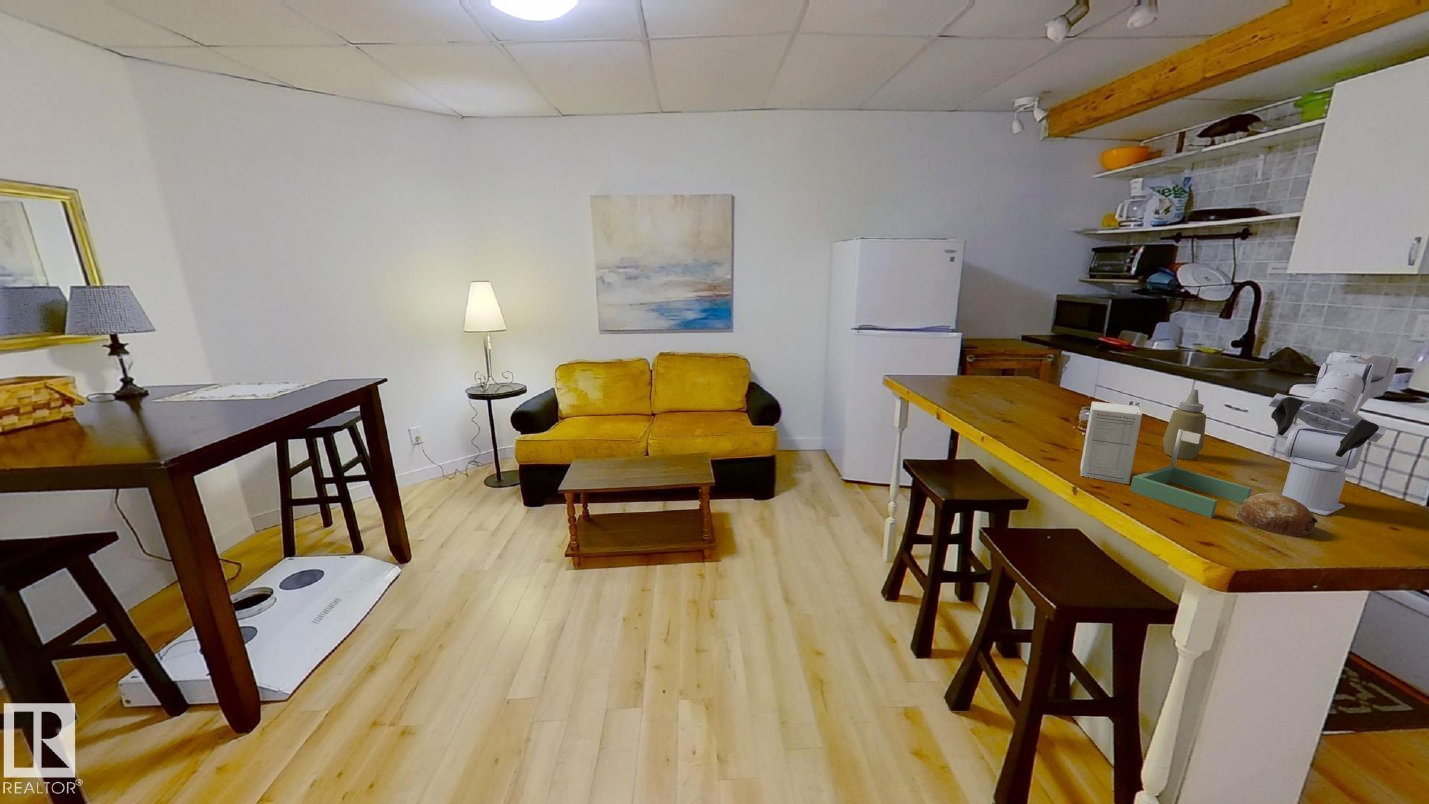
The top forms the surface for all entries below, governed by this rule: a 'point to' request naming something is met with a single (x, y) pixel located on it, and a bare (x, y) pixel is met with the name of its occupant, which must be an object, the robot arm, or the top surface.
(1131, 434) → the supplement box
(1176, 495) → the teal shallow tray
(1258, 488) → the top surface
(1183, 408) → the squeeze bottle
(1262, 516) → the bread roll
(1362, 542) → the top surface
